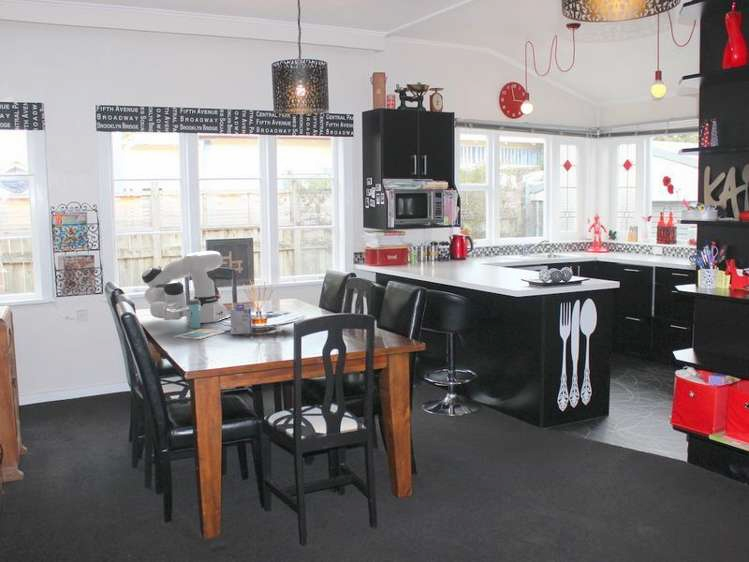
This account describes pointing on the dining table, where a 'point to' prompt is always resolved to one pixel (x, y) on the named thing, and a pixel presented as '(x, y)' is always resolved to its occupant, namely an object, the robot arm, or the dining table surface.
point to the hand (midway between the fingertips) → (195, 312)
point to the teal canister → (194, 313)
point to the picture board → (200, 334)
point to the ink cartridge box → (240, 320)
